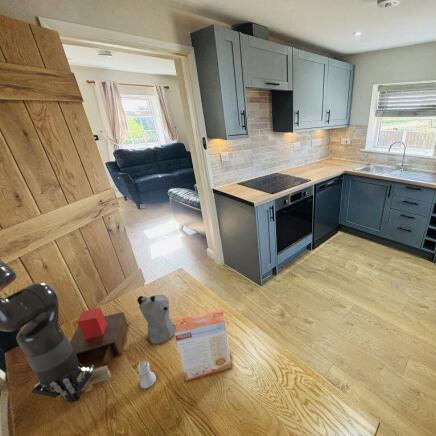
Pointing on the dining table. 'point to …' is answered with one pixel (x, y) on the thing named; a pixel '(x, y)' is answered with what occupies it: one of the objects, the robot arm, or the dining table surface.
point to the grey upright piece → (157, 317)
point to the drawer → (96, 365)
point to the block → (92, 323)
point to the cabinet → (103, 336)
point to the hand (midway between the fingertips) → (75, 398)
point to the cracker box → (203, 344)
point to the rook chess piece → (146, 375)
